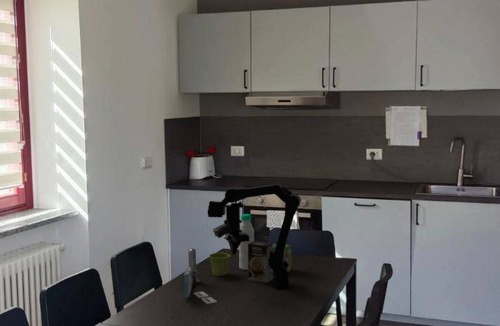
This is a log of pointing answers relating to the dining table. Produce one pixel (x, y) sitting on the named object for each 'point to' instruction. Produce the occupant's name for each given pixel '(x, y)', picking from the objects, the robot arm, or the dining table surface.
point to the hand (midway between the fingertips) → (233, 254)
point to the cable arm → (188, 281)
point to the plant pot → (219, 263)
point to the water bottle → (243, 246)
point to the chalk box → (286, 255)
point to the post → (193, 264)
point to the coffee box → (259, 261)
